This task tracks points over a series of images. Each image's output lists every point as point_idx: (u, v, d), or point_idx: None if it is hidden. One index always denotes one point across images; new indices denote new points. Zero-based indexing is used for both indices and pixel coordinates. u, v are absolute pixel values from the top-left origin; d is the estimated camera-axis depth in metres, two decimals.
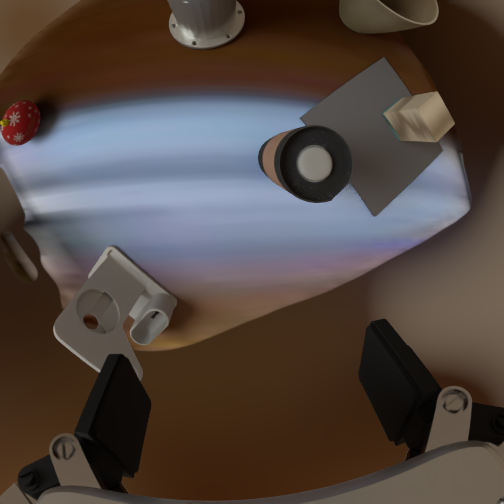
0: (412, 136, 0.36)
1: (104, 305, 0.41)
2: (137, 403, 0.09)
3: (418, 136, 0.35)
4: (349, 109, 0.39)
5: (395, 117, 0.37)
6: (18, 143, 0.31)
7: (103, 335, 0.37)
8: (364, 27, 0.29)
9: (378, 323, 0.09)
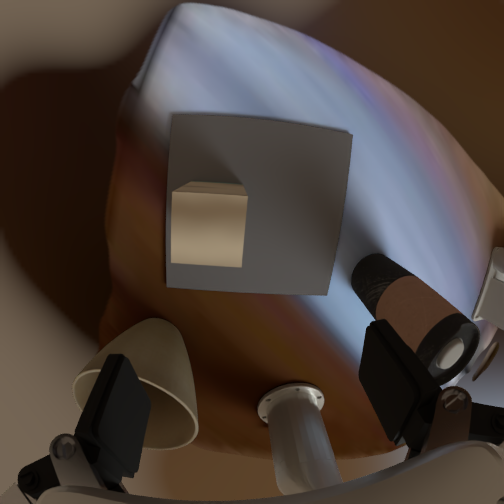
0: None
1: None
2: (137, 403, 0.09)
3: None
4: (274, 266, 0.35)
5: None
6: None
7: None
8: (183, 349, 0.33)
9: (378, 323, 0.09)
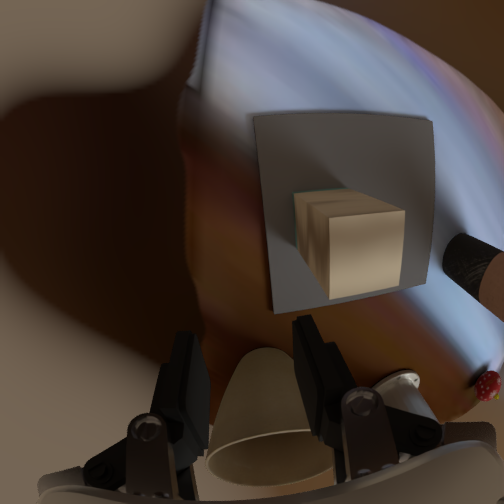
0: None
1: None
2: (203, 379, 0.10)
3: None
4: None
5: None
6: (499, 376, 0.42)
7: None
8: None
9: (301, 318, 0.10)
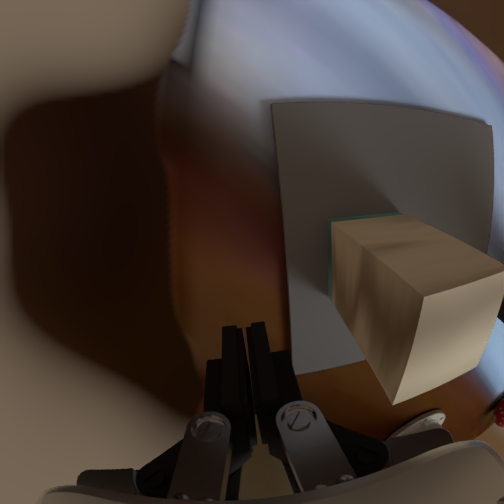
0: None
1: None
2: (248, 375, 0.10)
3: None
4: None
5: None
6: None
7: None
8: None
9: (253, 325, 0.10)
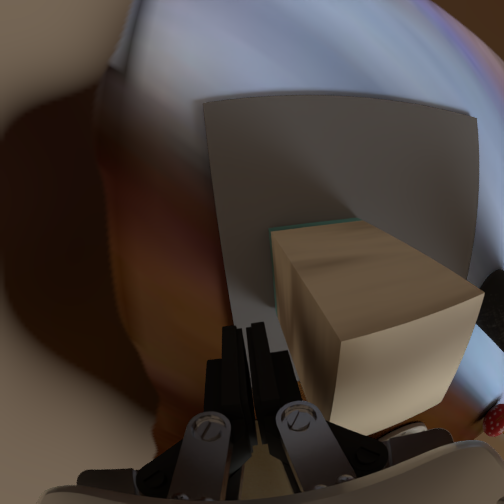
0: None
1: None
2: (248, 375, 0.10)
3: None
4: None
5: None
6: None
7: None
8: None
9: (253, 325, 0.10)
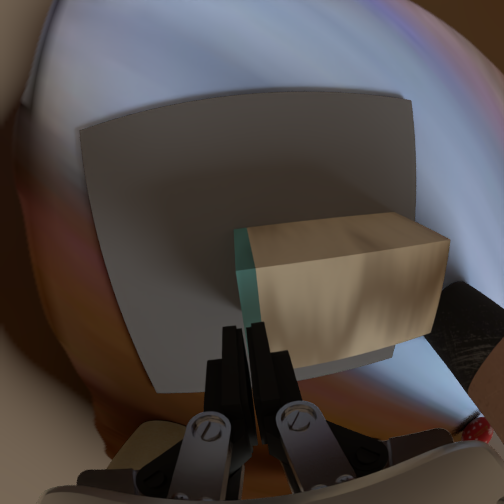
0: None
1: None
2: (248, 375, 0.10)
3: None
4: None
5: None
6: None
7: None
8: None
9: (254, 325, 0.10)
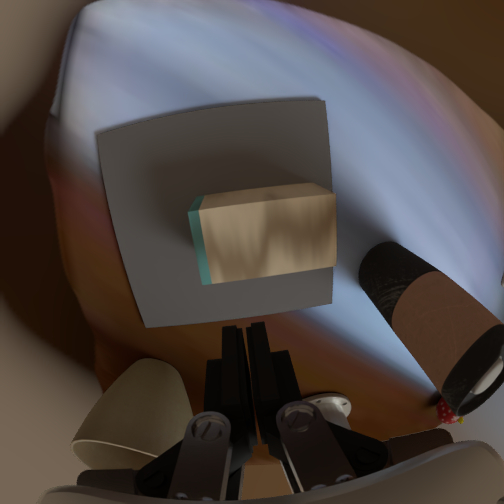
0: None
1: None
2: (248, 375, 0.10)
3: None
4: (260, 284, 0.29)
5: None
6: None
7: None
8: (177, 392, 0.28)
9: (254, 325, 0.10)
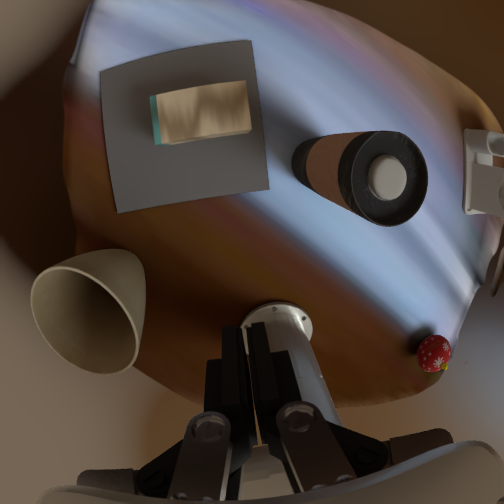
0: None
1: None
2: (248, 375, 0.10)
3: None
4: (206, 168, 0.35)
5: None
6: (447, 341, 0.46)
7: None
8: (133, 264, 0.34)
9: (254, 325, 0.10)
